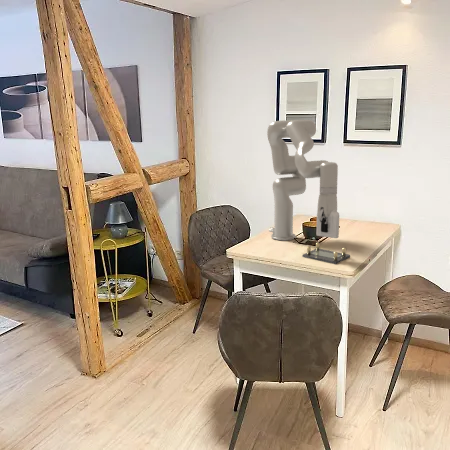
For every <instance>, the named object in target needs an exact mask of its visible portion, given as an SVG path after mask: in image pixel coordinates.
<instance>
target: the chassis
mask: <svg viewBox="0 0 450 450" xmlns="http://www.w3.org/2000/svg"><path fill="white" fill-rule="evenodd" d="M311 248H312V247H311V246H309V245H308V246H306V253H303V254H302V258H306V259H310V260H315V261H320V262H324V263H329V264H334V265H337V264H339V263H341V262H343V261H345V260H347V259H349V258H350V257H351V254H348V253H347V247H342V249H341V251H342V252H338V251H334V250H330V249H329V250H328V249H324V248H320V242H316V243H315V249H313V250H312V249H311Z"/></svg>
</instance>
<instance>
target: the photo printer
mask: <svg viewBox="0 0 450 450" xmlns="http://www.w3.org/2000/svg"><path fill="white" fill-rule="evenodd" d="M323 216H325V215H323ZM324 219H325V218H324ZM327 224H328V232H327V233H326V232H321V223H320V220H319V218H318V215H317V214H316V236H318V237H323V238H324V237H325V238H331V239H338V238H339V233H340V232H339V231H340V212H338V211H337V212H336V211H334V210H333V211H332V212H331V214H330V216H329V217H328V221H327Z"/></svg>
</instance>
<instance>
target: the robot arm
mask: <svg viewBox="0 0 450 450" xmlns="http://www.w3.org/2000/svg"><path fill="white" fill-rule="evenodd" d="M266 132H267V133H266V134H267V140H268V143H269V147H270V151H271V156H272V157H271V158H272V159H271V160H272V166H273V171H274V174H275V175H278V176H284V177H280V178H277V179H275V180H274V181H273V183H272V192H273V200H274V202H273V203H274V225H273V226H274V227H270V228H269V229H268V232H270V233H272V234H271V239H273V240H275V241H291V240H294V238H295V239H296V234H295V233H293V231H294V229H293V228H294V227H293V224H294V204H293V201H292V199H291V198H290V197H291V196H298V195H299V196H300V195H303V194H304V193H305V192H306V189H307V181H306V179H315V178H319V194H318V203H317V210H316V216H317V215H318V218H319V220H320V223H321V232H326V233H327V232H328V224H327V221H328V217H329V216H330V214H331V212H332V211H333V210H334V211H336V212H338V196H337V194H338V175H339V174H338V173H339V171H338V170H339V168H338V166H339V165H338V163H337V162H332V161H331V162H330V161H328V160H323V159H322V160H310V161H309V160H307V159H306V156H305V154H308V153H309V152H310V151H311V150H312V149H313V148H314V145H315V144H314V143H315V142H314V139H312V137H314V136H315V135H316V132H317V127H316V124H315V122H314V121H313V120H312V119H295V120H294V119H292V120H291V119H290V120H289V119H288V120H276V121H273V122H271V123H270V124H268V128H267V131H266ZM284 138H286V139H287V138H288V139H290V141H291V142H292V143H293V146H294V148H295V149H296V152H295V154H294V155H290V154H289V147H288V144H287V143H286V142H285V140H284ZM285 175H292V176H287V177H285ZM323 215H325V216H323ZM324 218H325V219H324Z"/></svg>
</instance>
